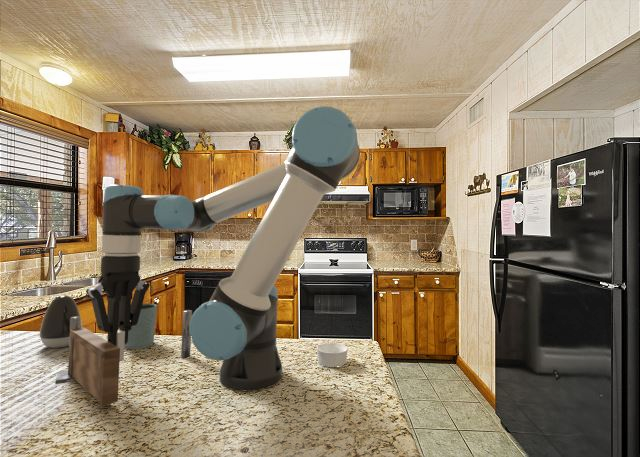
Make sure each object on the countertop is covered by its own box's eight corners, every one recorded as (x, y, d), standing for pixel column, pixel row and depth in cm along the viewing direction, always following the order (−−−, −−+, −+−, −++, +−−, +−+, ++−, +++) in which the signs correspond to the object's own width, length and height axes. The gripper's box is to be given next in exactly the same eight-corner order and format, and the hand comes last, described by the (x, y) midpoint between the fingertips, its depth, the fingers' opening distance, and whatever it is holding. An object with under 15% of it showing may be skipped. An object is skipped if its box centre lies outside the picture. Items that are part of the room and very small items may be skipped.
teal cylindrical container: (136, 351, 96) (138, 310, 96) (110, 347, 99) (112, 307, 99) (163, 341, 106) (164, 304, 106) (138, 337, 109) (140, 301, 109)
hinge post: (87, 377, 78) (90, 318, 79) (55, 383, 75) (58, 321, 75) (88, 368, 83) (91, 313, 84) (58, 373, 80) (61, 316, 80)
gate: (67, 374, 77) (70, 329, 77) (82, 371, 79) (84, 327, 80) (101, 406, 63) (104, 351, 64) (117, 401, 66) (120, 348, 66)
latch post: (191, 357, 93) (192, 311, 93) (182, 358, 92) (183, 312, 92) (189, 354, 95) (191, 309, 95) (180, 356, 94) (182, 310, 94)
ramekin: (310, 360, 93) (311, 345, 94) (336, 355, 98) (337, 340, 98) (326, 371, 86) (326, 355, 86) (353, 366, 90) (354, 350, 90)
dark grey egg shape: (74, 338, 107) (76, 291, 107) (86, 344, 101) (88, 295, 101) (34, 345, 99) (36, 295, 99) (44, 353, 93) (47, 299, 93)
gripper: (139, 252, 81) (135, 348, 80) (80, 254, 70) (75, 366, 69) (158, 254, 77) (154, 354, 77) (99, 256, 66) (94, 374, 65)
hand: (117, 360), depth 73 cm, fingers closed
